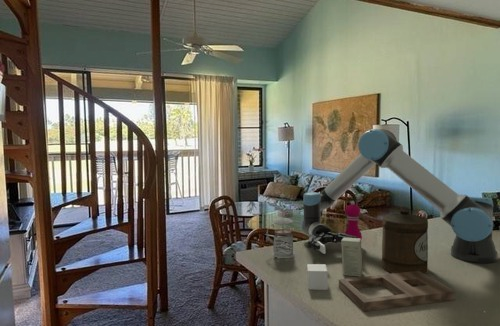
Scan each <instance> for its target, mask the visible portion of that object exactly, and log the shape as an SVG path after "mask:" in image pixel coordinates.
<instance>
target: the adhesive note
mask: <svg viewBox="0 0 500 326" xmlns="http://www.w3.org/2000/svg"><path fill="white" fill-rule="evenodd" d="M306 269H307V270H306V272H307V273H306V274H307V277H306V278H307V287H308V289H307V290H315V291H316V290H320V291H321V290H322V291H323V290H325V291H326V290H327V291H328V289H329V287H328V283H329V282H328V268H327V265H326V264H323V263H322V264H320V263H313V264H312V263H307V265H306Z"/></svg>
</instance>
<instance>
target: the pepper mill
mask: <svg viewBox="0 0 500 326" xmlns="http://www.w3.org/2000/svg"><path fill="white" fill-rule="evenodd" d="M344 211H345V214H346V219H347V228H346V230H345V232H344V234H347V235H351V236H355V237H358V238H361V240H363V239H362V238H363V236H362V232H361V231H360V228H359V225H358V223H359V220H360V216H359V215H360V214H361V209H360V207H359V205H357V204H355V201H354V200H350V204H349V205H348V204H347V206H345V210H344Z"/></svg>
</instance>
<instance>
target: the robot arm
mask: <svg viewBox="0 0 500 326" xmlns="http://www.w3.org/2000/svg"><path fill="white" fill-rule="evenodd" d="M357 146H358V151H359V155H358V156H356V157H355V159H354V160H353V161H352V162H350V164H348V165H347V166H346V168H344V170H342V171H341V172H340V173H339V174H337V176H336V177H335V178H334V179H333V180H332V181H331V182H330V183H329V184H328V185H326V187H325V188H324V189H323V190H322V191H320V192H314V191H313V192H311V191H310V192H305V193H303V200H302V203H303V206H302V207H303V219H302V221H301V223H300V225H301V229H302V231H303V232H304V233H305V234H306V235H307V236H309V238H308V241H307V247H308V248H309V249H311V248H313V250H314V251H317V250H318V251H319V252H321V253H322V254H325V255H326V244H328V243H334V244H335V243H336V244H338V243H340V244H341V240H342V239H343V237H345V238H358V237H355V236H351V235H347V234H345V233H343V232H341V231H339V232H337V233H334V232H332V230H331V229H330V227H329V226H327V225H324V224H323V223H321V222H322V221H321V220H322V219H321V217H322V216H321V213H322V211H324V210H327V209H329V208H331V207H332V206H333V205H334V203H335V202H336V201H337V200H338V199H339V198H340V197H341V196H342V195H344V193H346V191H348V190H349V189H350V188H351V187H352V186H353V185H354V184H355V183H357V182H358V181H359V180H360V179H361V178H362V177H363V176H364V175H365V174H366V173H368V172H369V171H370V170H371V169H372V168H373V167H374V166H375V165H377V166H378V167H380V169H388V170H389V171H391V173H393V174H395V176H397V178H399V179H401V181H403V183H405V184H406V185H408V186H409V187H410V188H411V189H412V190H414V191H415V192H416V193H417V194H418V195H420V196H421V197H422V198H423V199H424V200H425V201H427V202H428V203H429V204H430V205H432V206H433V208H435V209H437V211H439V212H440V219H442V220H443V221H444V222H445V223H446V224H447V225H448V226H450V227H451V230H452V231H453V233H454V234H455V237H454V239H453V243H452V245H451V247H450V255H451V256H452V257H454V258H456V259H458V260H462V261H466V262H472V263H478V264H479V263H480V264H489V263H490V264H491V263H494V262H495V263H496V262H497V261H498V259H499V258H498V254H499V253H498V251H497V249H496V245H495V243H494V240H493V228H494V221H493V220H494V219H493V217H494V215H493V214H494V211H493V210H494V201H493V199H492V198H490V197H483V196H481V197H479V196H469V195H467V194H459V193H457V192H456V191H455V190H454V189H452V188H451V187H450V186H448V185H447V184H445V182H443V181H442V180H441V179H439V178H438V177H437V176H435V174H433V173H431V172H430V171H429V170H428V169H427V168H425V167H424V166H423V165H422V164H421V163H419V162H418V161H417V160H415V159H414V158H412V157H411V156H410V155H409V154H408V153H406V152H405V151H404V146H403V144H402V143H401V142H399V141H398V140H397V138H396V135H395V134H394V133H393V132H392V131H390V130H387V129H384V128H383V129H379V128H373V129H370V130H367V131H365V132H364V133H362V135H361V136H360V137H359V140H358V145H357Z"/></svg>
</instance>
